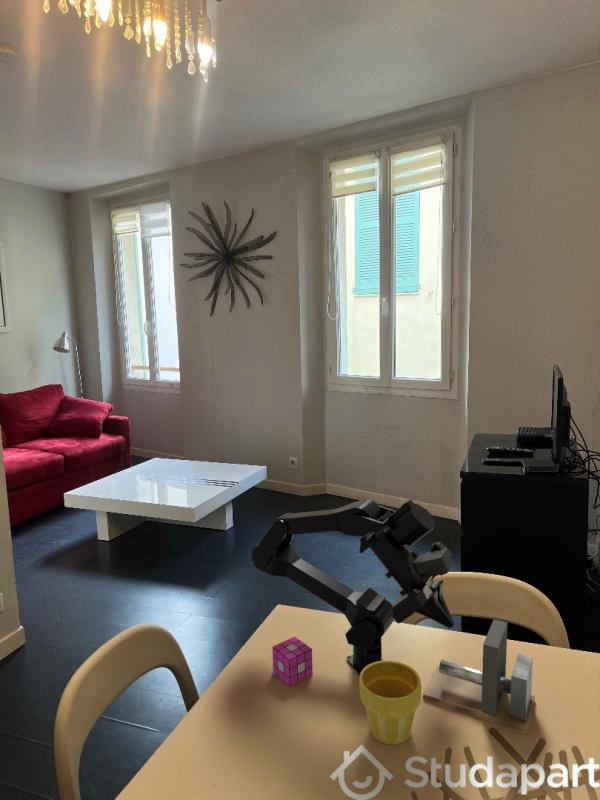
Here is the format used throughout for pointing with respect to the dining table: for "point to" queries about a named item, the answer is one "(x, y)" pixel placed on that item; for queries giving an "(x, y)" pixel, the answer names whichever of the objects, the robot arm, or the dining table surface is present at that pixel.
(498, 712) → the clear base plate
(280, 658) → the puzzle toy
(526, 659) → the metal rod with plate
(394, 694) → the yellow cup
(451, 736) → the dining table surface
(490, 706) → the grey flat slab
